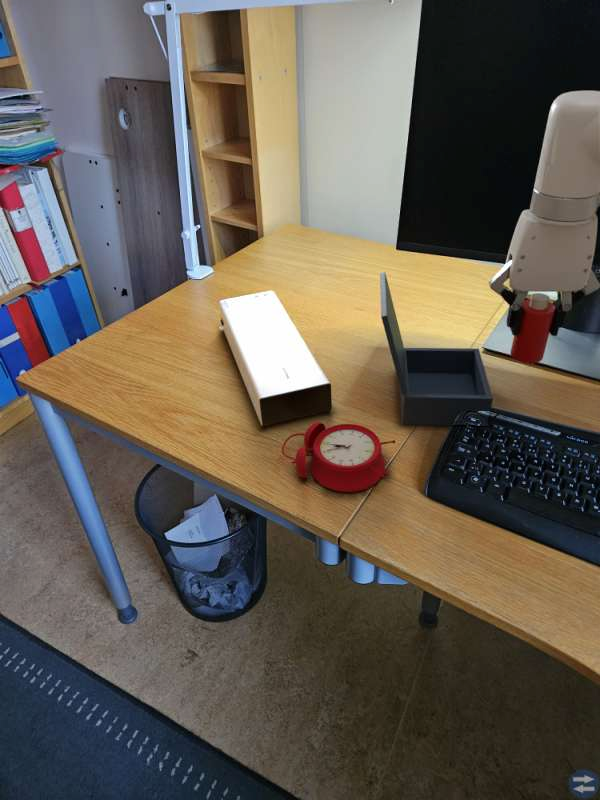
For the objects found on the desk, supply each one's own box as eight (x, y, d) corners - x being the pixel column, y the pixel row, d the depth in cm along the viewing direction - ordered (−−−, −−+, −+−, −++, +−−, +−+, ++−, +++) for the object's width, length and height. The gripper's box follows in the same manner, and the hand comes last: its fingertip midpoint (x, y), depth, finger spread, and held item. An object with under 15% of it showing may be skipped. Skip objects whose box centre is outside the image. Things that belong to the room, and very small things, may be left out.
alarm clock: (386, 482, 71) (276, 443, 73) (374, 512, 75) (269, 474, 77) (400, 430, 78) (300, 396, 80) (388, 460, 83) (293, 427, 84)
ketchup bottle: (538, 347, 85) (553, 289, 79) (546, 364, 81) (562, 304, 76) (507, 346, 85) (519, 289, 80) (513, 363, 82) (526, 304, 76)
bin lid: (385, 271, 85) (380, 273, 85) (387, 315, 74) (381, 316, 74) (403, 344, 92) (398, 345, 92) (407, 393, 82) (402, 395, 82)
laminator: (332, 415, 88) (331, 383, 84) (256, 433, 85) (252, 400, 82) (276, 317, 114) (273, 289, 110) (216, 328, 112) (212, 300, 108)
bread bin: (474, 375, 94) (478, 348, 91) (487, 426, 84) (493, 398, 81) (398, 373, 96) (400, 347, 93) (402, 424, 85) (404, 396, 82)
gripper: (623, 194, 72) (585, 318, 83) (488, 195, 74) (468, 317, 85) (646, 214, 66) (602, 345, 77) (498, 215, 68) (476, 343, 79)
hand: (532, 329), depth 81 cm, fingers closed on ketchup bottle, 4 cm apart
